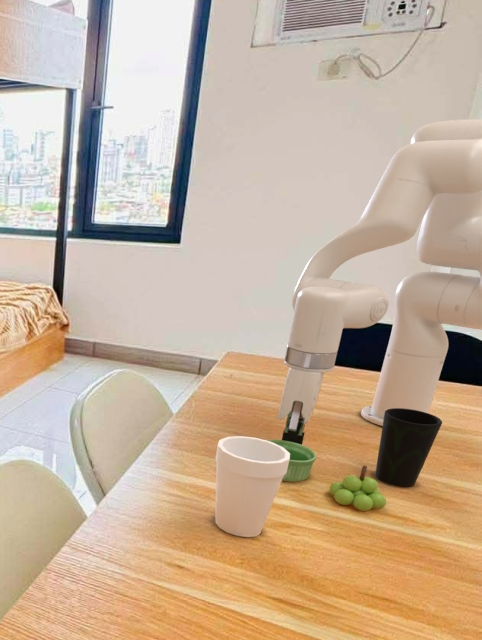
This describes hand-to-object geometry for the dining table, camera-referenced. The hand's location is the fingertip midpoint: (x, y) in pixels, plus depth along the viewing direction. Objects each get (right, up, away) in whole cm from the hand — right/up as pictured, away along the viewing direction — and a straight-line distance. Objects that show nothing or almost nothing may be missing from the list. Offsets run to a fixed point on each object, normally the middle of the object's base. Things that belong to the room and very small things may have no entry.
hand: (289, 451), depth 117 cm
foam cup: (-21, -10, -21) cm, 31 cm away
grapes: (+2, -7, -15) cm, 16 cm away
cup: (+14, -4, -7) cm, 16 cm away
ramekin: (-4, -3, -4) cm, 7 cm away
